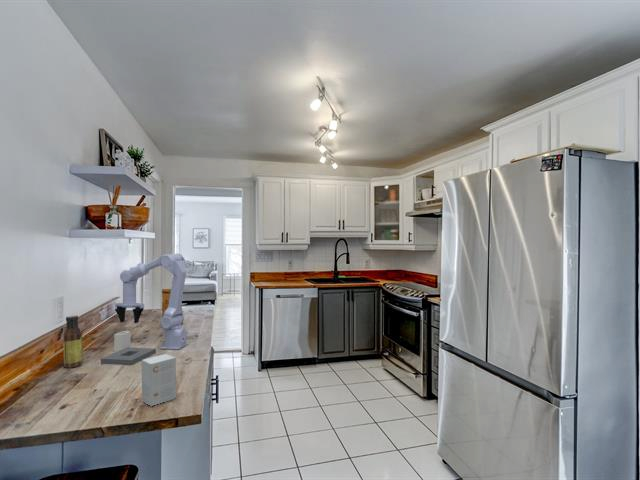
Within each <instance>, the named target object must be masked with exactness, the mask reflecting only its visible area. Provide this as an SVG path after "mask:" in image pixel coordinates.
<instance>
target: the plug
mask: <svg viewBox="0 0 640 480" xmlns="http://www.w3.org/2000/svg"><path fill="white" fill-rule="evenodd" d="M113 335H114V337H113V339H114V344H113V345H114V347H113V348H114V349H113V353H115V352H118V351H120V350H122V349H125V348H127V347H130V348H131V331H130V330H129V331H128V330H126V331H123V330H122V331H120V332H118V333H115V334H113Z"/></svg>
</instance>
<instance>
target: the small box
mask: <svg viewBox="0 0 640 480" xmlns="http://www.w3.org/2000/svg"><path fill="white" fill-rule="evenodd" d="M176 362H177V357H175V356H173V355H170V354H169V353H164V354H160V355H157V356H153V357H147V358H145V359H143V360H141V402H142V401H143V402H142V403H144V402H145V403H146V404H145V403H144V404H145V405H147V404H148V405H150V406H153V405H155V406H157V405H156V404H158V405H161V404H163V402H164V403H167V402H169V401H172V400H175V399H177V392H176V391H177V381H176V380H177V377H176V376H177V373H176V372H177V366H176V365H177V363H176ZM160 403H161V404H160ZM148 405H147V406H148ZM150 406H149V407H150ZM153 407H154V406H153Z"/></svg>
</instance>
